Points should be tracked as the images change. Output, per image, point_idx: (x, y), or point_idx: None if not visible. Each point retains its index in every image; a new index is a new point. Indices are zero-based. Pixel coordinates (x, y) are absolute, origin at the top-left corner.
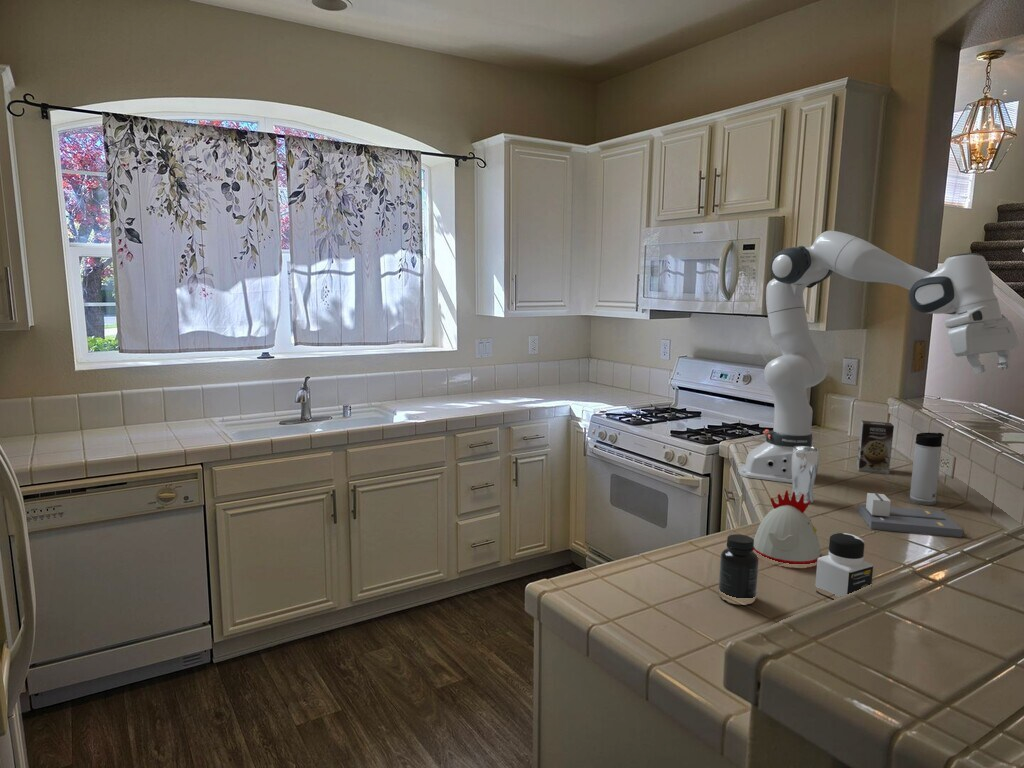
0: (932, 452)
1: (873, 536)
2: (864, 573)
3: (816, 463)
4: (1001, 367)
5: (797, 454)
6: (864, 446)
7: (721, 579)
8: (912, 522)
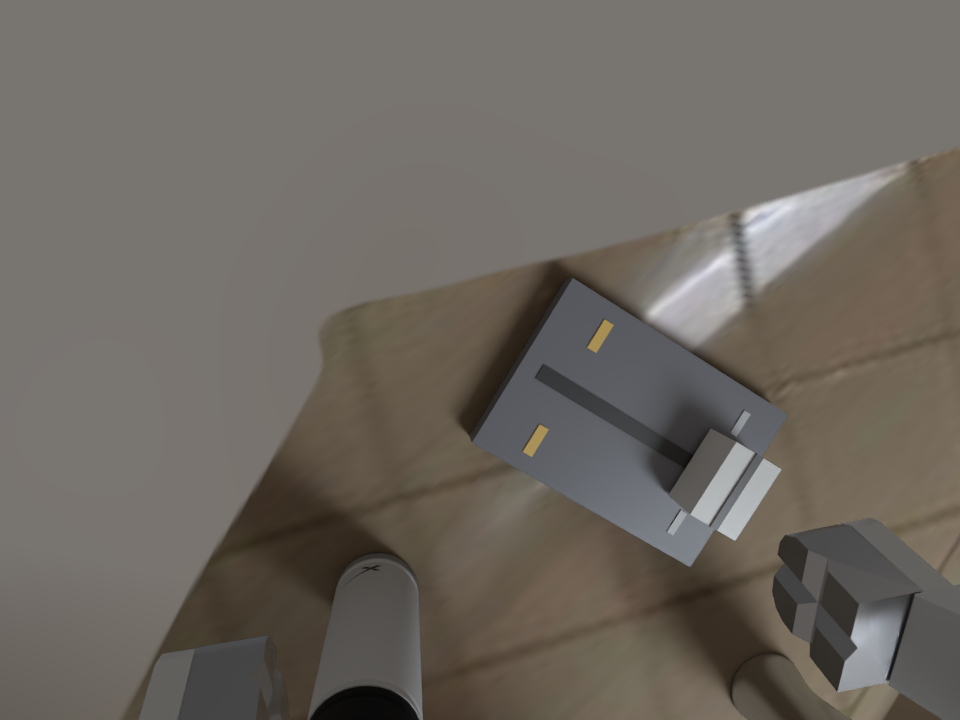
0: (391, 671)
1: (816, 356)
2: None
3: None
4: (281, 701)
5: None
6: None
7: None
8: (672, 373)
